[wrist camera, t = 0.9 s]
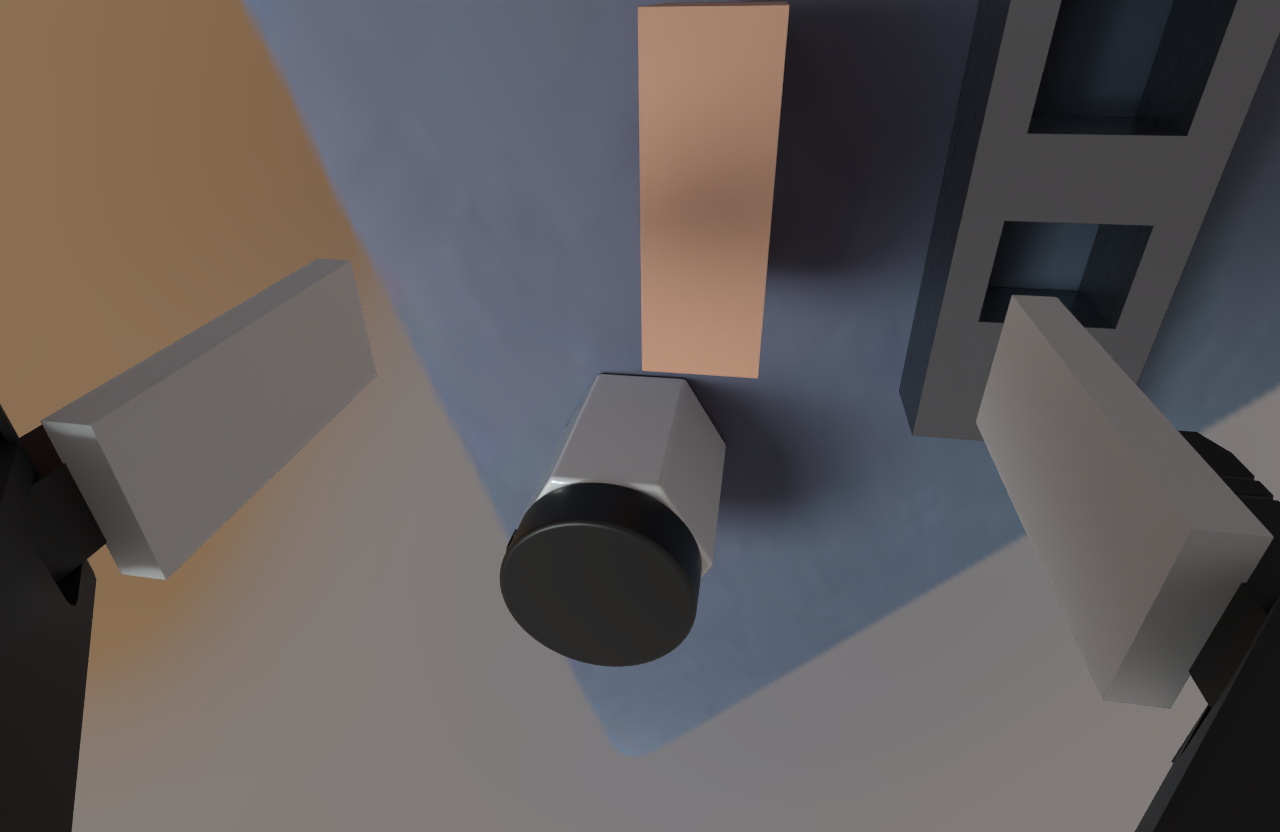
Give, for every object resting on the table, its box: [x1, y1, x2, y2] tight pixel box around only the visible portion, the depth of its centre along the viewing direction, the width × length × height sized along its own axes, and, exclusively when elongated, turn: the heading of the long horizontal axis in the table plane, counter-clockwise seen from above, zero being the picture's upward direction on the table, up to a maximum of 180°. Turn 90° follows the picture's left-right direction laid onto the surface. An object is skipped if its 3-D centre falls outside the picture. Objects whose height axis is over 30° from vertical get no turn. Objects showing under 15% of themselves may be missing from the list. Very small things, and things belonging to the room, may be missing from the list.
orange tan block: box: [638, 1, 790, 378], centre depth 26 cm, size 11×4×10 cm, turn 0°
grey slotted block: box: [899, 0, 1280, 441], centre depth 26 cm, size 22×8×4 cm, turn 0°
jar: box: [500, 374, 726, 667], centre depth 33 cm, size 9×8×12 cm
